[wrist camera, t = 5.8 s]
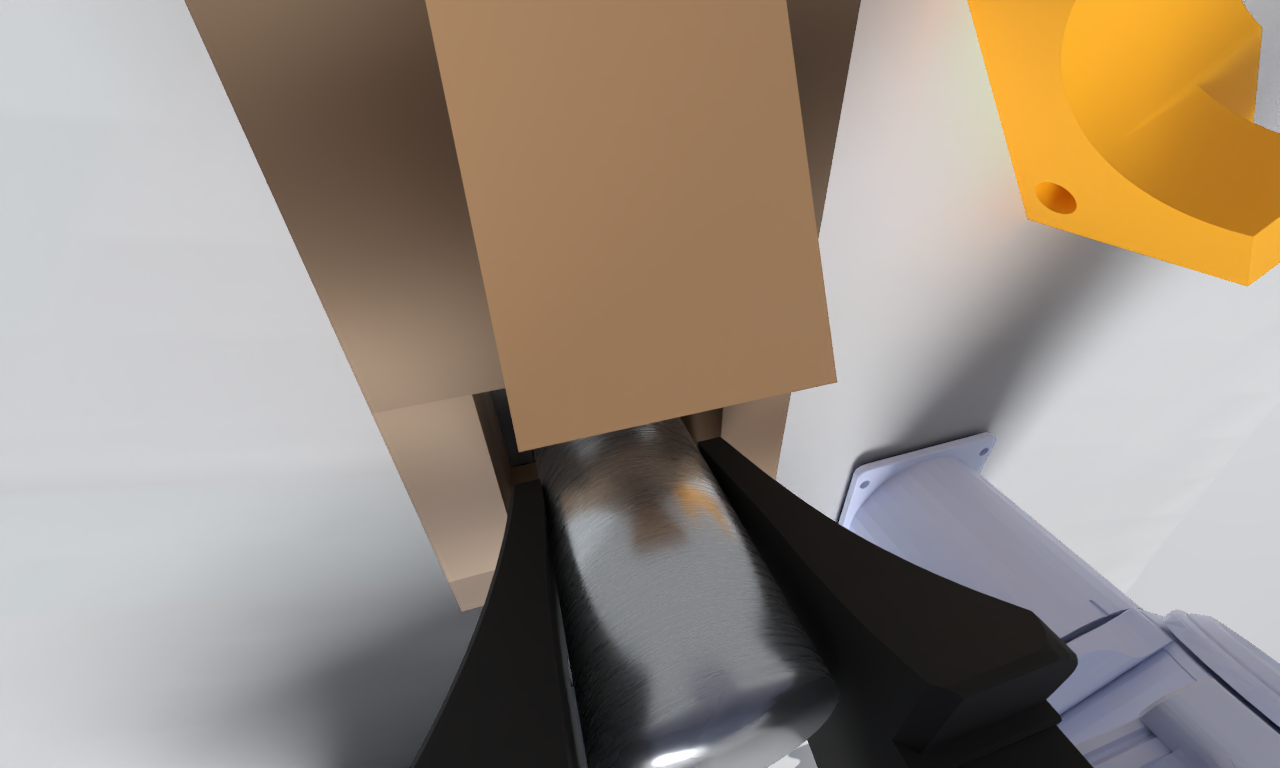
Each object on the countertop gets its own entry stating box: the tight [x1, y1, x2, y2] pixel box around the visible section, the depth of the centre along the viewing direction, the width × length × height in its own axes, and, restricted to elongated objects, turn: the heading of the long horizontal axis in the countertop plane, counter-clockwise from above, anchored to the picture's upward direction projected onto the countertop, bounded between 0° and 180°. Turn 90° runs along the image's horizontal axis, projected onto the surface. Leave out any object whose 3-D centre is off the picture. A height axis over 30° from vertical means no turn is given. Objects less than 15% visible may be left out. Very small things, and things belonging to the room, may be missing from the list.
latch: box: [425, 0, 837, 452], centre depth 6 cm, size 8×4×1 cm
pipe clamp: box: [967, 0, 1280, 286], centre depth 11 cm, size 12×4×6 cm, turn 42°
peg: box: [533, 417, 839, 768], centre depth 11 cm, size 4×4×8 cm
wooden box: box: [185, 0, 861, 612], centre depth 11 cm, size 17×10×6 cm, turn 2°
